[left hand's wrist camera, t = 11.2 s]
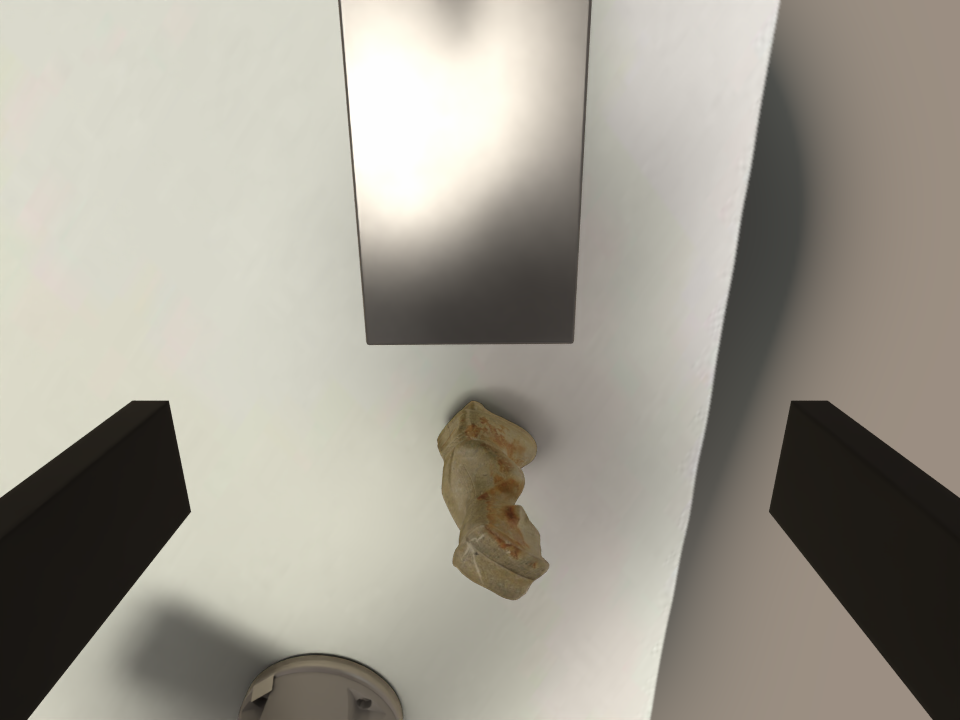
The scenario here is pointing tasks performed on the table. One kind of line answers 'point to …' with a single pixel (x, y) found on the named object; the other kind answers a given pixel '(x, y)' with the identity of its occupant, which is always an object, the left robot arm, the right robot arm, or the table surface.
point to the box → (467, 166)
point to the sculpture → (490, 500)
